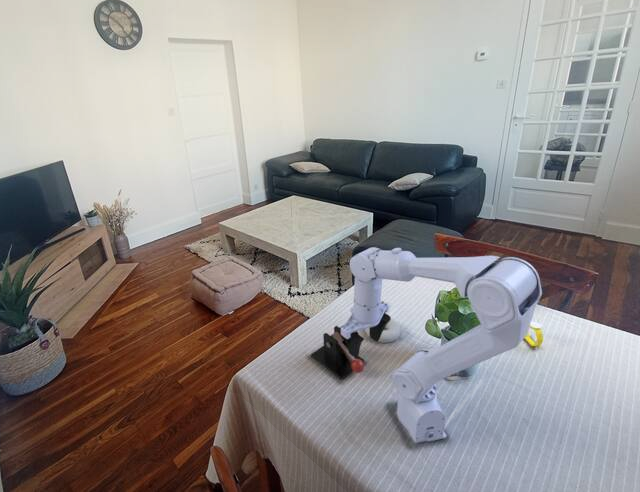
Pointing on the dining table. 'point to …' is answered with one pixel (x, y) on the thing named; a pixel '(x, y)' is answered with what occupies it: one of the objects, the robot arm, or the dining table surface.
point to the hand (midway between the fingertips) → (364, 346)
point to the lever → (355, 363)
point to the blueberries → (452, 376)
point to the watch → (539, 334)
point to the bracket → (333, 356)
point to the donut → (388, 332)
